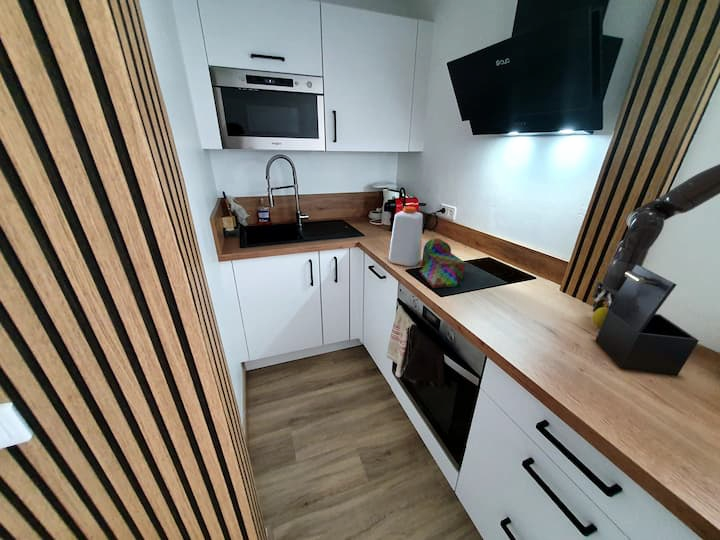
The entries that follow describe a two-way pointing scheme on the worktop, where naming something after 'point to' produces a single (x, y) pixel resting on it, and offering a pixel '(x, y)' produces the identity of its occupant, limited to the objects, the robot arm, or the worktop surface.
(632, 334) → the bin
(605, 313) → the lemon
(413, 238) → the plastic bottle
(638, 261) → the robot arm
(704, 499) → the worktop surface
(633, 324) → the bin lid
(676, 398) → the worktop surface
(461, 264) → the rainbow lumpy figurine
